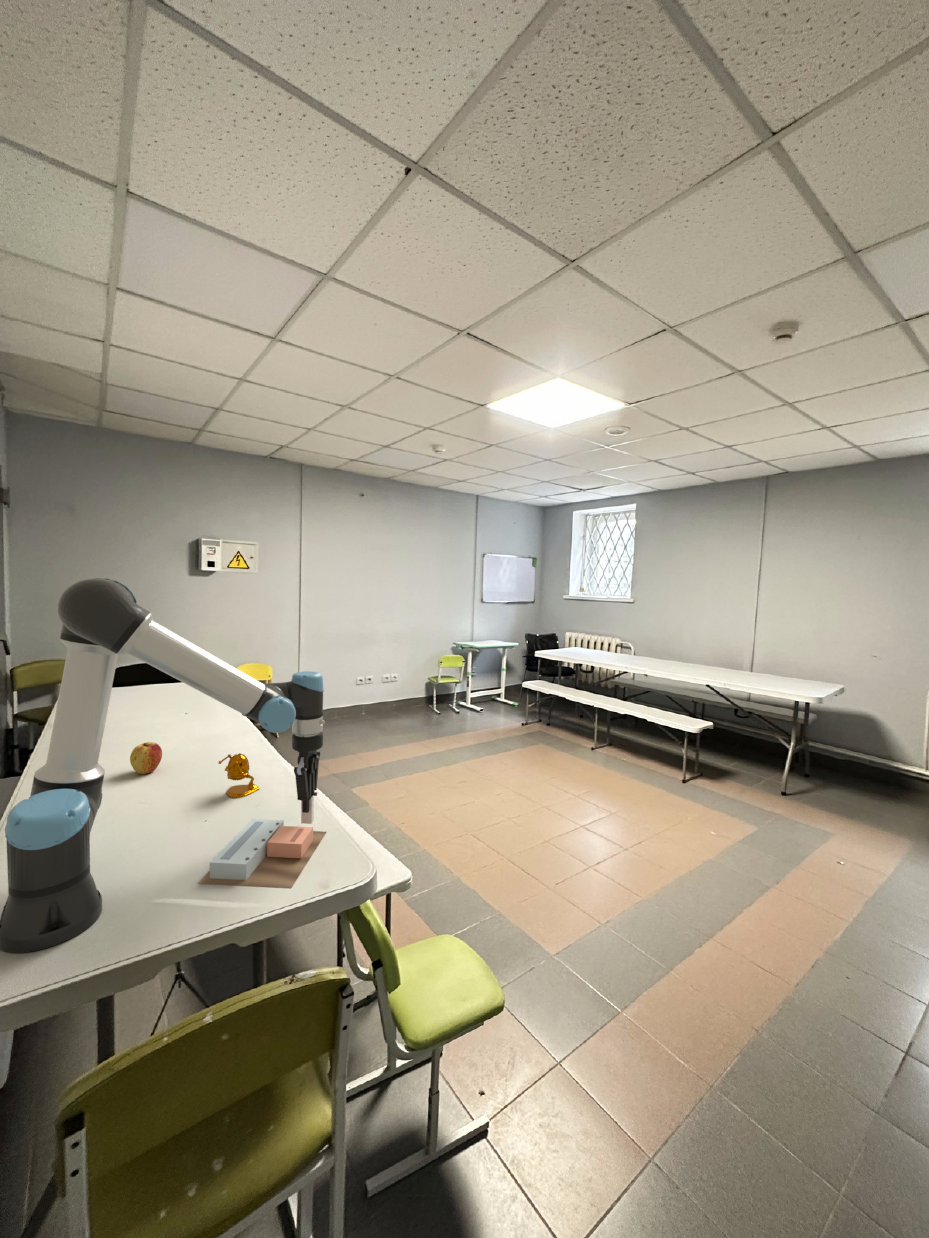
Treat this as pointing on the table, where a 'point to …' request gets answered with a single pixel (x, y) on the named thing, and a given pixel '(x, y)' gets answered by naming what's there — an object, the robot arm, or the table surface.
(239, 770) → the figurine
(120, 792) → the table surface
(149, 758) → the apple
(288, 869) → the backing board
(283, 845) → the stub
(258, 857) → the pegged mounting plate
